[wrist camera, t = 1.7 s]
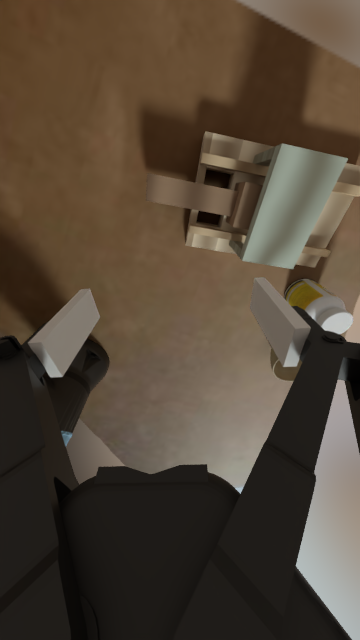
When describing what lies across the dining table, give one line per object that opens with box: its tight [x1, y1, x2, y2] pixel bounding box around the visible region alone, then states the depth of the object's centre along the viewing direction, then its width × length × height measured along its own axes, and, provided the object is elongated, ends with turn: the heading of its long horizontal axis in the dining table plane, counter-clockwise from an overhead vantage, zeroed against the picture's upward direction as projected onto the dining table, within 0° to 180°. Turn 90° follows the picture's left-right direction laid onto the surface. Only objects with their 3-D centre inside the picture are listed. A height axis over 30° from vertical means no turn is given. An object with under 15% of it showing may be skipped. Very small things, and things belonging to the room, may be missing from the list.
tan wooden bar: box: [146, 173, 263, 230], centre depth 27 cm, size 18×5×5 cm, turn 81°
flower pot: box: [270, 348, 302, 382], centre depth 45 cm, size 10×10×7 cm
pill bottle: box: [285, 279, 353, 334], centre depth 36 cm, size 6×6×12 cm
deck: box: [185, 131, 360, 269], centre depth 27 cm, size 23×14×12 cm, turn 81°
